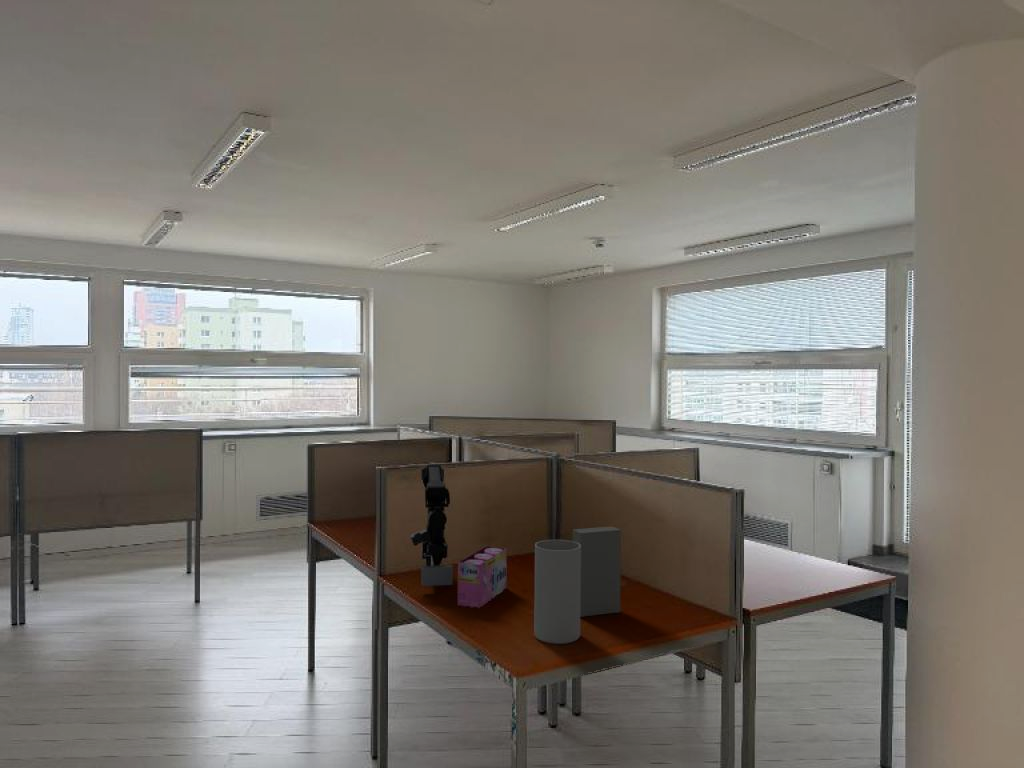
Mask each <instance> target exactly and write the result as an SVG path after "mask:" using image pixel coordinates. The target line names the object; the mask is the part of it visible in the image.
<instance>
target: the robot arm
mask: <svg viewBox="0 0 1024 768" xmlns="http://www.w3.org/2000/svg"><path fill="white" fill-rule="evenodd" d="M421 480H423V482H422V485H423V484H424V487H425V490H424V503H425V505H424V506H425V508H427V524H426V526H425V527H426V528H424V529H421V530H418V531H416V532H413V533H411V534H410V540H411V542H412V545H413V546H414V547H417V546H418V545H419V544H421V559H422V560H425V565H424V566H431V556H432V559H433V564H434V566H437V565H440V563H441V565H443V564H442V562H443V559H446V558H448V549H449V545H448V544H447V541H446V538H445V532H446V531H445V530H446V524H447V519H448V518H447V514H446V510H445V508H449V505H450V504H451V499H450V498H451V497H450V491H449V488H448V487H447V486H446V483H445V469H444V468H443V467H442V466H441V465H440V464H439V463H437V464H436V463H435V464H434V463H433V464H432V463H431V464H427V465H426V467H424V468H422V469H421V473H420V481H421Z"/></svg>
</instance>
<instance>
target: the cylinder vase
mask: <svg viewBox="0 0 1024 768" xmlns="http://www.w3.org/2000/svg"><path fill="white" fill-rule="evenodd" d="M580 599H581V545H580V544H579V543H577V542H573V540H566V539H546V540H540V541H537V542H535V544H534V600H533V601H534V609H533V610H534V611H533V612H534V613H533V615H534V617H533V621H534V625H533V628H534V629H533V630H534V631H533V634H534V636H535V638H536V639H537V640H539V641H540V642H542V643H543V642H544V643H546V644H554V645H564V644H571V643H574V642H575V641H577V640H578V639H579V638H580V636H581V618H580Z"/></svg>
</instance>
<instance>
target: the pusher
mask: <svg viewBox="0 0 1024 768" xmlns="http://www.w3.org/2000/svg"><path fill="white" fill-rule="evenodd" d="M453 568H454V567H453V565H452V564H446V565H445V564H444V565H443V564H442V565H441V563H440V565H437V566H434V564H433V559H432V556H431V566H425V565H421V587H431V586H433V587H434V586H452V585H453V584H454V582H453V580H454V579H453V577H454V575H453V574H454V572H453V571H454V569H453Z"/></svg>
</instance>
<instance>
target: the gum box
mask: <svg viewBox="0 0 1024 768" xmlns="http://www.w3.org/2000/svg"><path fill="white" fill-rule="evenodd" d="M507 562H508V561H507V547H503V548H502V549H500V548H497V547H496V548H495V547H494V548H492V547H491V546H490V545H487V546H484V547H482V548H481V549H479V550H477V551H476V552H474V553H472V554H470V555H469V556H466V557H465V558H463V559H461V560H459V561H458V562H457V606H460V605H462V606H461V607H466V606H470V607H469V608H474V607H477V608H476V609H480V607H481V606H482V607H483V606H484V604H485V605H486V604H487V603H489V602H490V601H492V600H493V599H494V598H495V596H496V595H497V594H498V595H499V594H501V593H503V592H504V591H505V590H506V589H507V588H508V575H507V574H508V573H507V572H508V571H507V570H508V569H507V567H508V566H507V564H508V563H507ZM504 589H505V590H504ZM503 590H504V591H503ZM498 595H497V596H498ZM497 596H496V597H497ZM492 598H493V599H492ZM491 599H492V600H491ZM488 601H489V602H488ZM478 607H479V608H478ZM482 607H481V608H482Z"/></svg>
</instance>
